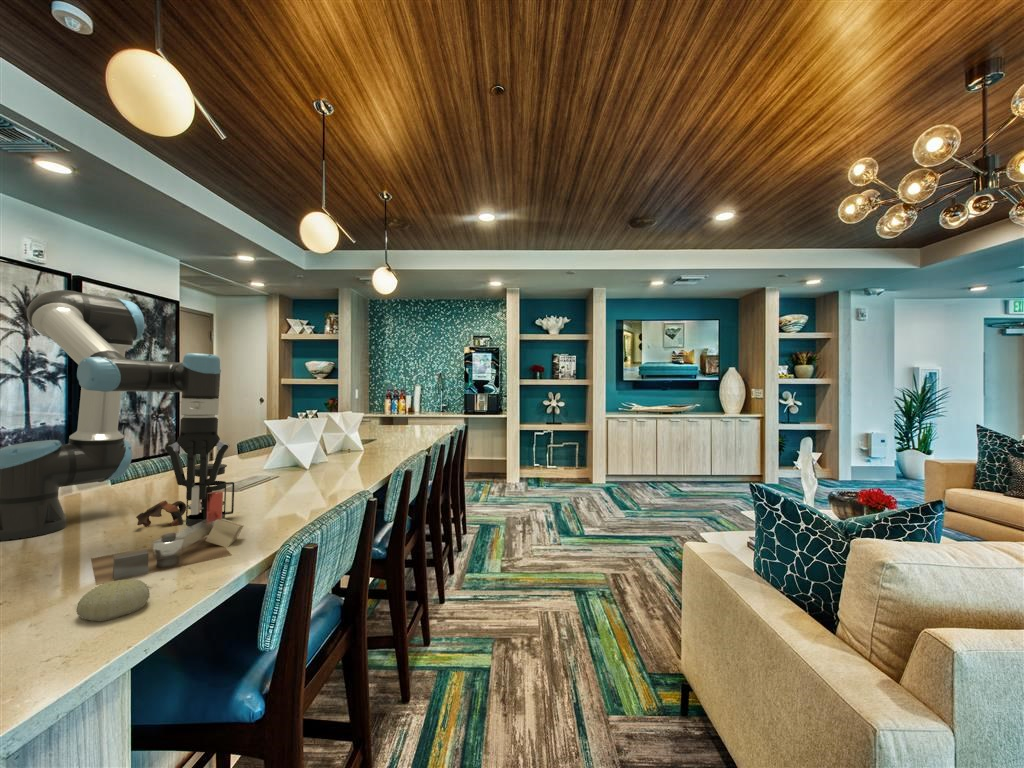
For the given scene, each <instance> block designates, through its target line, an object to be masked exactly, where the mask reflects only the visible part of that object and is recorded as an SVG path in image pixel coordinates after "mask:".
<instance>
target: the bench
mask: <svg viewBox="0 0 1024 768" xmlns="http://www.w3.org/2000/svg"><path fill="white" fill-rule="evenodd" d="M176 534H177V533H176V532H167V533H164V534H162V535H161V538H160V539H161V541H172V540H175V539H176ZM207 537H208V536H205V537H204V538H202V539H200V540H198V541H196V542H195V543H193V544H191V545H189V546H187V547H186V548H184V549H183V553H182V554H181V555H179V556H176V557H173V558H168V559H153V546H151V547H145V548H140V549H139V548H138V549H134V550H129V551H128V550H127V551H123V552H118V553H112V554H109V555H108V554H107V555H102V556H97V557H92V558H90V560H91V566H92V570H93V577H94V582H95V585H96V586H99V585H102V584H104V583H107V582H111V581H117V580H127V579H132V578H134V577H135V578H136V577H140V576H143V575H144V576H145V575H149V574H152V573H153V574H154V573H157V572H162V571H167V570H172V569H175V568H176V569H177V568H180V567H185V566H188V565H189V566H190V565H194V564H198V563H203V562H208V561H212V560H213V561H214V560H216V559H220V558H221V559H222V558H227V557H231V556H233V554H232V553H231V552H230V551H229V550H228V549H227V547H223V546H220V545H217V544H213V543H210V542H207V541H206V539H207Z"/></svg>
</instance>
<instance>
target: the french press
mask: <svg viewBox="0 0 1024 768" xmlns="http://www.w3.org/2000/svg"><path fill="white" fill-rule="evenodd" d="M215 447H218V445H216V446H215ZM213 465H214V463H210V455H209V456H208V472H207V479H209V477H210V474H211V471H212V468H213ZM227 467H228V465H227V464H225V463H221V465H220V468H219V471H218V474H217V476H221V475H225V472H226V468H227ZM199 476H200V464H197V465H196V464H195V477H198V478H199ZM197 485H199V481H197V482H196V481H195V484H194V486H197ZM227 485H231V511H226V506H227V505H226V499H227V497H226V496H227ZM221 490H224V492H223V499H224V500H223V510H222V519H226V515H233V514H234V509H235V508H234V507H235V506H234V505H235V502H234V501H235V483H234V481H229V482H228V481H225V480H215V481H214V482H213V483H211V484H208V485H207V486H206V497H205V499H203V500H201V505H200V512H199V514H197V515H191V514H189V515H188V511H189V510H191V503H190V504H189V501H187V500H186V503H185V504H186V511H185V526H187V527H191V526H193V525H195V524H197V523H199V522H201V521H203V520H205V519H207V494H208V493H210V492H217V491H221Z"/></svg>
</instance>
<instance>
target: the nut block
mask: <svg viewBox="0 0 1024 768" xmlns="http://www.w3.org/2000/svg"><path fill="white" fill-rule="evenodd" d="M243 529H244V525H243V524H240V523H237V522H235V521H232V520H230V519H226V518H225V519H218V520H217V521H216V523H215V524H214V526H213V528H212V530H211V532H210V533H209V535H207V536H206V537H207V539H206V541H207V542H210V543H213V544H217V545H220V546H223V547H225V548H228V547H229V546H231V545H232V544H233V543H234V542H235V541H237V539H238V537H239V535H240V534H241V532H242V530H243Z"/></svg>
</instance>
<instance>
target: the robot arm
mask: <svg viewBox="0 0 1024 768" xmlns="http://www.w3.org/2000/svg"><path fill="white" fill-rule="evenodd" d="M26 308H27V309H26V318H27V320H28V322H29V324H30V325H31V326H32V327H33V329H35V331H37V332H38V333H39V334H40V335H41V336H45V337H48V338H50V339H51V340H52V341H53V342H54V343H55V344H57V345H58V347H60V348H61V349H62V350H63V351H64V352H65V353H66V354H67V355H68V356H69V357H70V359H72V360H73V361H74V362H75V363H76V364H77V371H76V378H77V381H78V385H79V386H80V387H81V388H80V389H81V390H80V397H79V399H80V400H79V408H78V420H77V428H76V431H75V432H73V433H72V434H70V435H69V438H68V443H66V444H62V442H61V441H60V440H57V439H48V440H47V439H46V440H37V441H36V440H35V441H28V442H21V443H17V444H16V443H15V444H12V445H7V446H3V447H1V448H0V540H3V541H10V540H9V539H13V540H20V539H19V538H21V539H27V537H28V538H31V537H32V536H33V537H38V536H43V535H47V534H51V533H54V532H57V531H60V530H63V529H65V527H67V516H66V513H65V511H64V508H63V506H62V505H61V503H60V500H59V490H60V488H62V487H68V486H69V487H70V486H79V485H85V484H92V483H103V482H107V481H111V480H116V479H119V478H121V477H122V476H123V475H124V474H125V473H126V472H127V471H128V470H129V467H130V466H131V463H132V457H133V450H132V446H131V443H130V442H129V441H127V440H125V438H124V437H125V435H124V434H122V433H121V432H120V431H119V420H120V419H119V418H120V412H121V411H120V410H121V401H122V400H121V399H122V392H144V393H145V392H147V393H148V392H151V393H152V392H153V393H154V392H156V393H157V392H158V393H161V392H162V393H181V400H180V401H181V404H180V415H181V416H183V417H181V418H180V423H179V425H180V427H179V436H178V437H177V439H176V441H175V442H174V443H172V444H169V445H168V446H165V448H164V450H165V452H167V454H168V455H169V458H170V460H171V464H172V469H173V472H174V477H175V480H176V484H177V485H178V486H182V487H185V488H186V491H185V492H186V496H185V497H186V498H185V500H186V502H187V501H188V502H189V501H191V502H190V504H191V509H190V515H197V514H199V512H201V510H200V505H201V502H202V500H203V499H205V497H206V486H207V485H208V484H211V483H213V482H214V481H217V478H218V475H217V474H218V471H219V468H220V465H221V464H222V462H223V458H224V455H225V453H226V452H227V451H228V449H229V448H230V444H229V443H225V442H223V441H221V439H220V437H219V434H218V432H219V431H218V430H219V429H218V428H219V418H218V417H216V416H218V415H219V409H220V408H219V405H220V399H219V397H220V386H221V384H220V383H221V372H222V369H221V359H220V357H219V356H218V355H217V354H216V355H215V354H212V353H211V354H209V353H197V352H196V353H195V352H191V353H190V352H189V353H188V352H187V353H186V354H184V356H183V358H182V362H171V361H158V360H157V361H156V360H146V359H145V360H144V359H142V360H140V359H130V358H129V359H128V358H126V351H127V350H129V349H131V348H132V347H133V344H134V341H138V340H140V339H141V338H142V337H143V334H144V333H145V318H144V314H143V311H141V309H140V307H139V305H137V304H136V303H135V302H133V301H131V300H126V299H121V298H117V297H110V296H106V295H105V296H104V295H100V294H99V295H97V294H91V293H85V292H78V291H75V290H68V289H67V290H66V289H65V290H64V289H61V290H60V289H59V290H58V289H57V290H51V291H48V292H44V293H42V294H40V295H38V296H36V297H35V298H34V299H32V300H31V302H30V303H29V305H28V306H27V307H26ZM216 445H218V446H216ZM215 447H216V450H217V454H216V456H215V459H214V461H213V464H214V465H213V468H212V471H211V474H210V476H208V479H207V472H208V456H209V457H210V453H211V452H212V451H213V449H214V448H215ZM180 448H181V449H182V450H183V451H184V452H185V454H186V460H187V461H186V463H187V464H186V475H185V472H184V468H183V464H182V460H181V456H180V453H179V451H180ZM197 455H199V461H200V463H199V465H200V476H199V477H198V480H199V481H198V482H199V485H197V486H194V484H195V483H196V481H195V480H196V476H195V466H196V462H197V461H196V460H197V459H196V458H197ZM37 535H38V536H37ZM33 537H32V538H33Z"/></svg>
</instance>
